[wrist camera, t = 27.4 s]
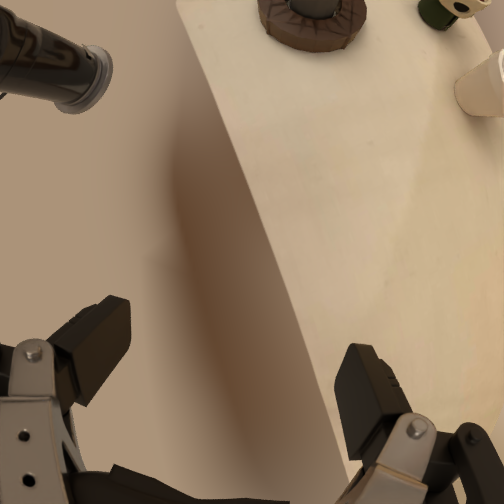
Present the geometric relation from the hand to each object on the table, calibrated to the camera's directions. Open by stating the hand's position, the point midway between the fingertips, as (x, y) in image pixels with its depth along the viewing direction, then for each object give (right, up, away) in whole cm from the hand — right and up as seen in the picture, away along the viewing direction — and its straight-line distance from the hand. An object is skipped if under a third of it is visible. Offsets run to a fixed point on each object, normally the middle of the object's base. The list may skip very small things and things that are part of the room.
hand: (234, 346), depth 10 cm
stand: (+9, +36, +18) cm, 41 cm away
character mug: (+29, +41, +16) cm, 53 cm away
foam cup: (+34, +27, +19) cm, 48 cm away
